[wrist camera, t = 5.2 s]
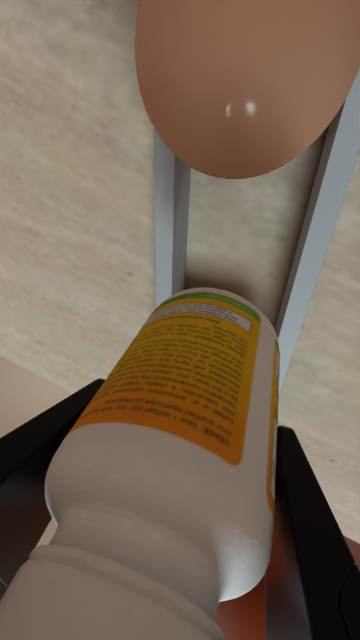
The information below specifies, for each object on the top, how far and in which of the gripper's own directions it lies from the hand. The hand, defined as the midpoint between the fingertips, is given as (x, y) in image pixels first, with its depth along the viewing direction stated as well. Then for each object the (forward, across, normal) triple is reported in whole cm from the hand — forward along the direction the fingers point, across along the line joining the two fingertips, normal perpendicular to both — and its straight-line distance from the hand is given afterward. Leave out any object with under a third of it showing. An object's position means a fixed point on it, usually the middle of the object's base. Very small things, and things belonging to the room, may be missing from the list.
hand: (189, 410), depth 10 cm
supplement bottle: (+4, 0, 0) cm, 4 cm away
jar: (+12, 0, -9) cm, 15 cm away
